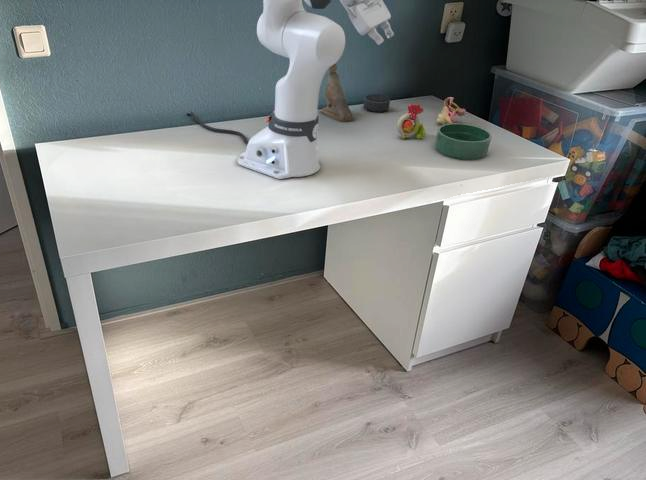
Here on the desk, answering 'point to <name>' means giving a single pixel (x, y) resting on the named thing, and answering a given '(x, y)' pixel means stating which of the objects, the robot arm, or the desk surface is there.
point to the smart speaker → (376, 103)
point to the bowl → (463, 141)
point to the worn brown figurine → (336, 98)
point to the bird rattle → (407, 125)
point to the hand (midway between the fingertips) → (386, 40)
